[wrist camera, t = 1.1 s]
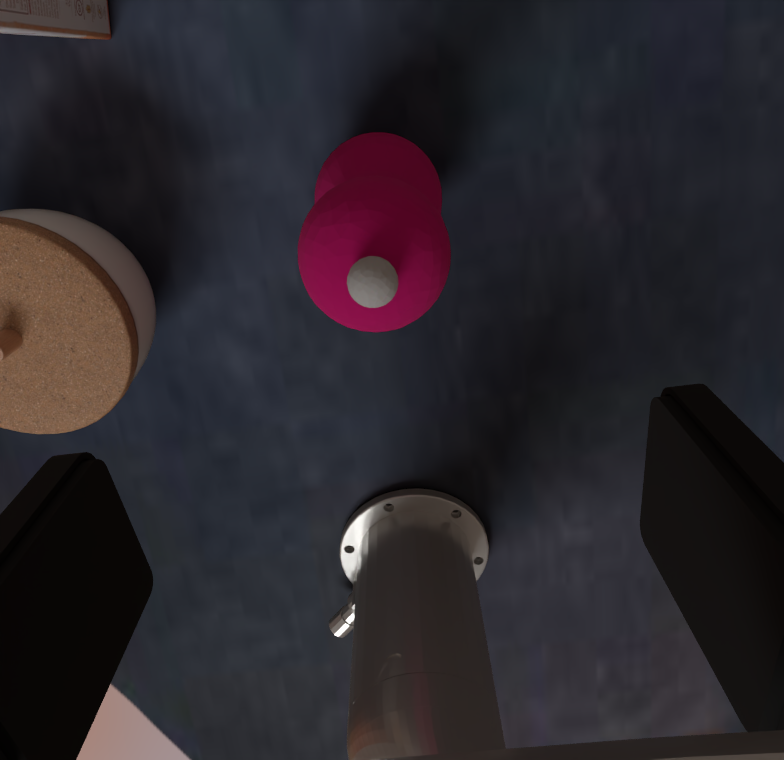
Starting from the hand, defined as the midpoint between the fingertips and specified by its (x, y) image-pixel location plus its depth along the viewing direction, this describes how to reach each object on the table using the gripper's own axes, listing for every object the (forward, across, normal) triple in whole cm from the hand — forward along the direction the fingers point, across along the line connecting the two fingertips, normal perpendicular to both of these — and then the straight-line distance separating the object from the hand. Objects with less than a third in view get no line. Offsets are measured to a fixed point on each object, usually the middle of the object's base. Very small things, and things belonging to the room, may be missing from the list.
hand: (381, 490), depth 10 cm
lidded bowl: (+31, +21, +4) cm, 37 cm away
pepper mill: (+31, 0, 0) cm, 31 cm away
